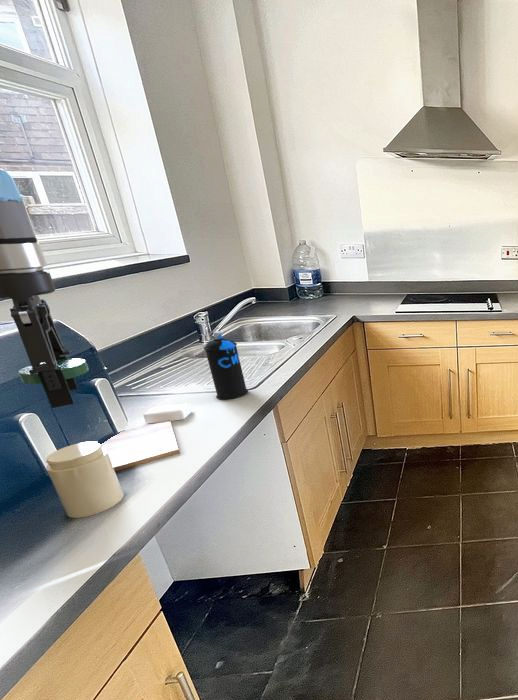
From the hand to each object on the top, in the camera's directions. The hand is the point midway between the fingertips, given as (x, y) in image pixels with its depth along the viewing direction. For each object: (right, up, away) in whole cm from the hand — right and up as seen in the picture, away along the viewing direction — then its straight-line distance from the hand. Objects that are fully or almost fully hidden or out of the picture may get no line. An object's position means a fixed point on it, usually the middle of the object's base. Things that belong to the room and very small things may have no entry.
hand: (65, 397), depth 76 cm
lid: (0, +5, -2) cm, 6 cm away
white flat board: (-8, -14, +24) cm, 28 cm away
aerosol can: (-5, -3, +53) cm, 53 cm away
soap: (-12, -9, +38) cm, 41 cm away
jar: (+2, -21, +4) cm, 21 cm away
